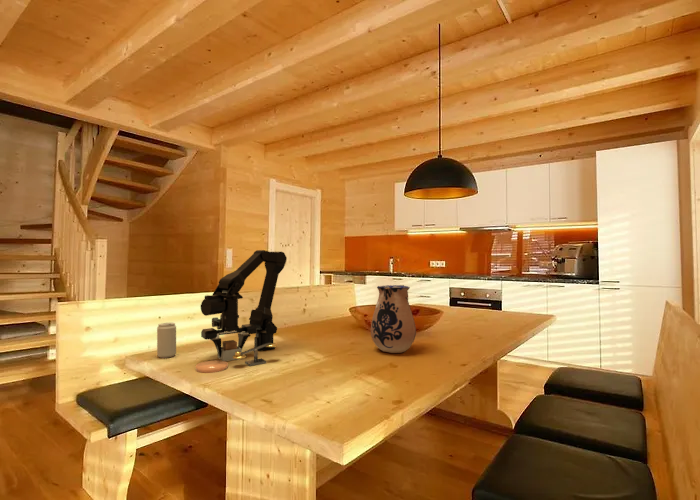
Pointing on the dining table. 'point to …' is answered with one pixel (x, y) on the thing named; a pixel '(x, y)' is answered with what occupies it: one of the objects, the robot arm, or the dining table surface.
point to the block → (229, 345)
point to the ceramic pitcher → (393, 320)
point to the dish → (211, 366)
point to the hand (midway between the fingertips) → (229, 355)
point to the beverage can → (166, 340)
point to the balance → (256, 361)
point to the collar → (229, 354)
